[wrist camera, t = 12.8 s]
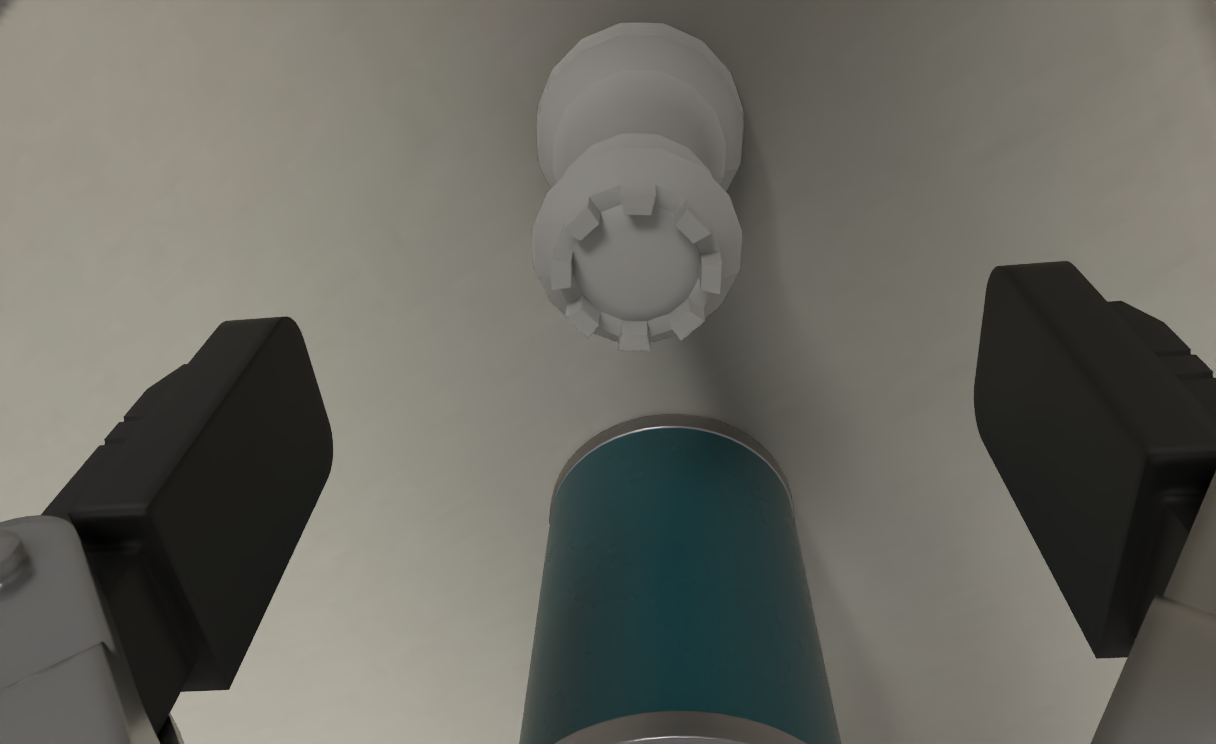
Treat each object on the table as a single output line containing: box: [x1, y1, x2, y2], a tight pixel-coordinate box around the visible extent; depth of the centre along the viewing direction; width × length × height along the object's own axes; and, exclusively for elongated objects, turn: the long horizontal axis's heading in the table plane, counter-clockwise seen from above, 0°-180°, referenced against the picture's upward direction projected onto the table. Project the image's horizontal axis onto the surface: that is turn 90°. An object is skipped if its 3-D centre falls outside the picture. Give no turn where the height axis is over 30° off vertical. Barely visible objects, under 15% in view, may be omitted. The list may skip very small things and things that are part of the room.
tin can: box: [519, 415, 841, 744], centre depth 22 cm, size 7×7×10 cm
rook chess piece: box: [532, 22, 744, 351], centre depth 17 cm, size 4×4×8 cm
